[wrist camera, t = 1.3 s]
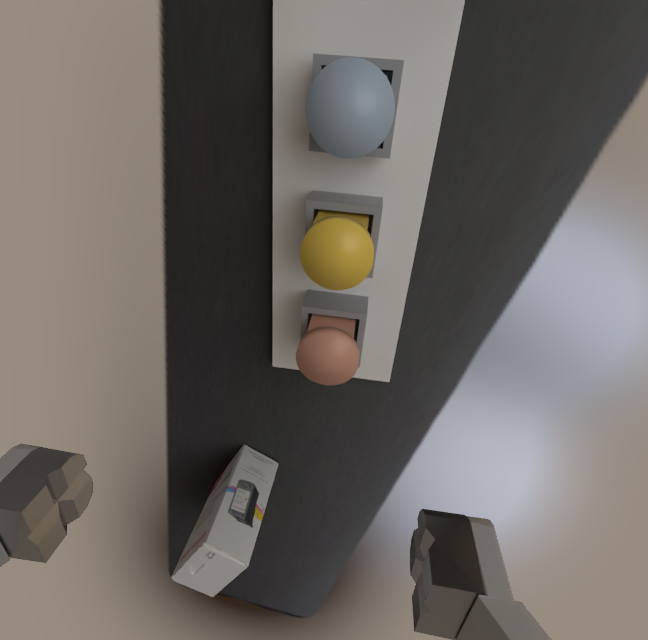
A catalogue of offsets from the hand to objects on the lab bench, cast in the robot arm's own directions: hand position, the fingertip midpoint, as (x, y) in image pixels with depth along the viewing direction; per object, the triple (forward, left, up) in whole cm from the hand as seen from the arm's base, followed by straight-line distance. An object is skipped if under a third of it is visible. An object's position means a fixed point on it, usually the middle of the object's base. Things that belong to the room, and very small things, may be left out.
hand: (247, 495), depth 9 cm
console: (0, 0, -24) cm, 24 cm away
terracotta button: (+8, 0, -22) cm, 23 cm away
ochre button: (0, 0, -22) cm, 22 cm away
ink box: (+31, -9, -24) cm, 41 cm away
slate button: (-8, 0, -22) cm, 23 cm away
